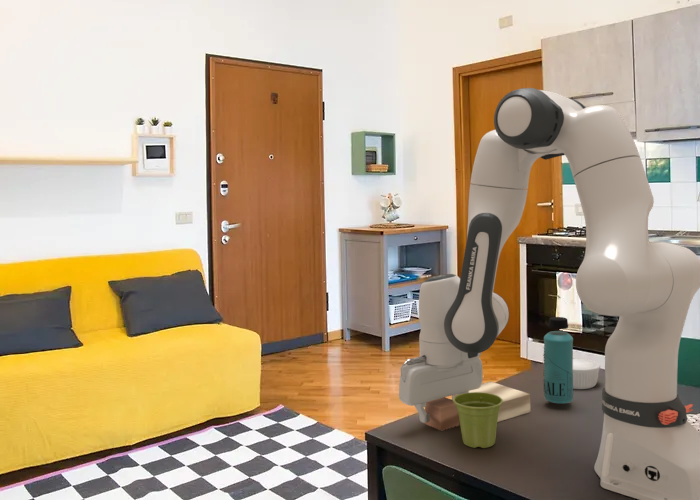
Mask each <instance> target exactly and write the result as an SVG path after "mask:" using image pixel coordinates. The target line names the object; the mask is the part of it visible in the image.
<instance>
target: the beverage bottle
mask: <svg viewBox="0 0 700 500" xmlns="http://www.w3.org/2000/svg"><path fill="white" fill-rule="evenodd" d="M548 319H549V320H548V328H550V329H554V330H553V331H549V332H547V333H546V334H545V335H544V336H543V354H542V356H543V359H542V360H543V397H544V400H545V401H547V402H550V403H554V404H568V403H569V404H570V403H571V402H573V399H574V389H573V358H574V356H573V354H574V353H573V352H574V349H573V348H574V344H573V343H574V338H573V336H572V335H571V334H570V333H568V332H566V331H563V330H566V329H568V328H569V324H568V318H566V317H564V316H553V317H550V318H548ZM559 330H560V331H559Z"/></svg>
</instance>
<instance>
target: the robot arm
mask: <svg viewBox="0 0 700 500" xmlns="http://www.w3.org/2000/svg"><path fill="white" fill-rule="evenodd" d="M494 111H495V112H494V116H493V124H494V129H492V130H490V131H487V132H486V133H485V134H484V135H483V136H482V138H481V139H480V142H479V143H478V146H477V150H476V154H475V157H474V162H473V166H472V171H471V175H470V184H469V193H468V208H467V209H468V211H467V212H468V213H467V229H466V230H467V232H466V243H465V249H464V255H463V260H462V261H463V262H462V267H461V272H460V273H461V274H460V277H459V276H458V275H457V274H453V273H445V274H444V273H443V274H439V275H435V276H431V277H428V278H427V279H425V280H424V281H422V283H421V285H420V289H419V295H418V321H419V324H420V331H419V332H420V333H419V338H418V340H419V345H418V346H419V356H416V357H412V358H408V359H406V360H405V362H404V363H402V365H401V366H400V370H399V371H400V376H399V384H398V399H399V400H400V402H401V403H403V404H404V405H407V406H410V407H412V406H414V408H415V409H416V411H417V412H418V417H419V418H418V419H419V422H420V423H423V424H425V423H426V422H429V421H430V414H429V413H427V412H426V411H425V407H426V402H429V401H432V400H436V399H440V398H444V397H446V398H449V397H452V395H455V394H458V395H459V394H463V393H469V391H471V390H474V389H478V388H480V386H481V384H483V378H484V377H483V362H482V360H481V358H480V357H481V356H482V355H481V354H482V353H483V352H485V351H487V350H489V349H490V348H491V347H492V346H493V345H494V343H495V341H496V340H497V338H498V336H499V335H500V334H501V333H502V331H503V330H504V329H505V327H506V326H507V325H508V322H509V320H510V309H509V306H508V304H507V302H506V300H505V299H504V298H503V297H502V296H501V295H499V294H498V293H496V292H494V289H495V283H496V277H497V270H498V265H499V260H500V256H501V252H502V251H503V250H502V249H503V248H504V245H505V244H506V242H507V240H508V239H509V237H510V236H511V235H512V234H513V232H514V231H515V229H517V227H518V226H519V224H520V222H521V220H522V216H523V213H524V209H525V206H526V202H527V196H528V191H529V181H530V173H531V170H532V167H533V164H534V163H535V162H536V161H537V160H538V159H539V158H541V159H542V160H550V159H554V158H557V157H563V156H565V157H566V159H567V161H568V164H569V167H570V171H571V174H572V178H573V180H574V183H575V184H574V185H575V187H576V192H577V194H578V198H579V202H580V205H581V209H582V212H583V216H584V218H583V219H584V221H585V222H584V224H585V233H586V235H585V253H584V257H583V260H582V263H580V266H579V268H578V269H577V273H576V275H575V276H576V277H575V288H576V289H575V290H576V293H577V296H578V298H579V299H580V301H581V302H582V304H583V306H585V307H586V309H588V310H589V311H591V312H593V313H595V314H598V315H603V316H609V317H618V321H617V323H616V326H615V328H614V331H613V332H612V334H610V336H609V337H608V339H607V341H606V344H605V347H604V387H603V388H602V390H601V391H602V394H601V411H602V415H603V424H602V425H603V426H602V433H601V441H600V445H599V450H598V455H597V458H596V461H595V463H594V467H593V468H594V472H595V473H596V475H598V477H599V478H600V487H601V488H603V489H605V490H608V491H610V492H613V493H617V494H621V495H623V496H627V497H630V498H633V499H637V500H700V431H699V430H698V429H697V428H696V427H694V425H693V424H692V423H690V422H689V421H688V415H687V413H690V412H692V411H693V410H694V408H693V409H692V407H693V406H694V404H693V403H689V404H687V405H684V404H683V402H682V400H681V398H680V395H679V394H678V364H679V363H678V360H679V349H680V344H681V343H680V342H681V339H682V334H683V329H684V326H685V323H686V320H687V316H688V312H689V309H690V305H691V303H692V300H694V299H693V298H694V297H695V295H696V293H697V291H699V289H700V258H699V257H698V256H697V254H696V253H695V252H693V251H692V250H691V249H689V248H688V247H685V246H682V245H679V244H676V243H671V242H670V243H669V242H665V241H662V242H651V243H650V239H649V238H650V237H649V217H650V216H649V215H650V212H651V210H652V209H653V208H654V202H655V201H654V200H655V199H654V195H653V192H652V189H651V187H650V183H649V180H648V177H647V174H646V171H645V169H644V165H643V162H642V159H641V155H640V154H639V150H638V148H637V145H636V143H635V140H634V138H633V135H632V134H631V131H630V129H629V127H628V126H627V124H626V122H625V120H624V119H623V116H622V115H621V114H620V112H619V111H618V110H617V108H614V107H613V106H611V105H607V104H606V105H605V104H604V105H602V104H594V105H590V106H587V107H586V106H585V105H584V104H582V103H581V102H580V101H579V100H577V99H575V98H568V97H567V96H564V95H562V94H561V93H557V92H555V91H554V92H553V91H549V90H543V89H538V88H533V87H524V88H518V89H514V90H512V91H509V92H508V93H507V94H506V95H504V96H503V97H502V98H501V99H500V100H499V102H498V104H497V106H496V108H495V110H494Z"/></svg>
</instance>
